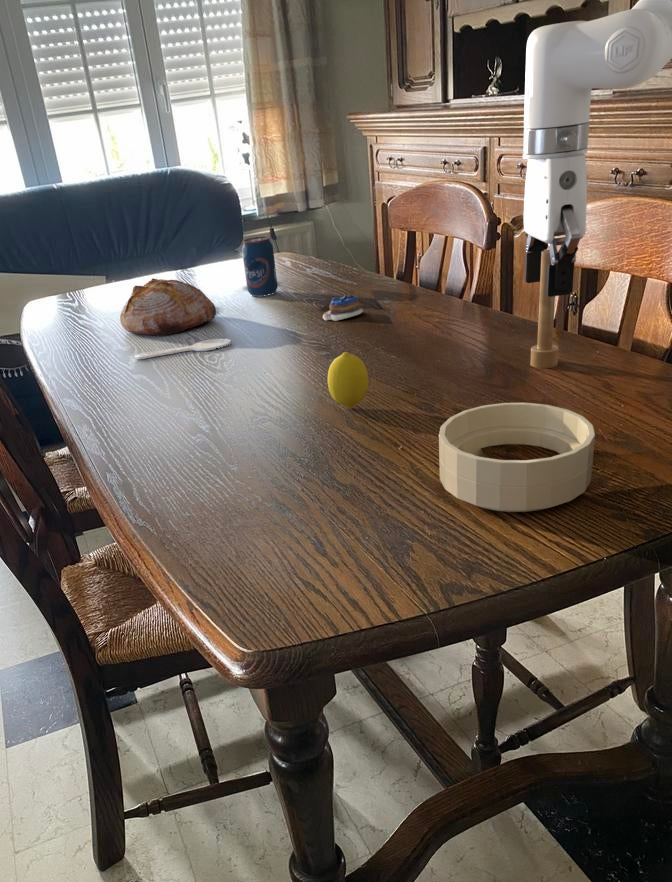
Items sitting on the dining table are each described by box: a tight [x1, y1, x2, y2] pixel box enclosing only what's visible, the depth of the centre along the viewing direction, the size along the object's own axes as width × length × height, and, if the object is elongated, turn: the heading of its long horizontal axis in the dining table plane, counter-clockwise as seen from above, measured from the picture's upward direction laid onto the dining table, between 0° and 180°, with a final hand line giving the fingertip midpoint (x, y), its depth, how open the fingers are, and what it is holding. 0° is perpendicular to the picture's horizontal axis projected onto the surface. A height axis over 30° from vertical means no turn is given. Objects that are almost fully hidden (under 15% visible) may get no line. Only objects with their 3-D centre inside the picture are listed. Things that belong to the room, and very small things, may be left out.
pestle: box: [530, 249, 559, 369], centre depth 102 cm, size 4×4×17 cm
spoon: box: [133, 338, 232, 360], centre depth 138 cm, size 5×18×1 cm, turn 100°
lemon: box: [327, 351, 370, 410], centre depth 102 cm, size 6×6×8 cm
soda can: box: [241, 236, 279, 297], centre depth 168 cm, size 7×7×12 cm
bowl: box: [438, 402, 596, 513], centre depth 78 cm, size 15×15×6 cm
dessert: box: [322, 294, 364, 322], centre depth 146 cm, size 8×7×6 cm
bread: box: [119, 277, 217, 337], centre depth 153 cm, size 16×20×10 cm
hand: (547, 287), depth 100 cm, fingers open, 7 cm apart
